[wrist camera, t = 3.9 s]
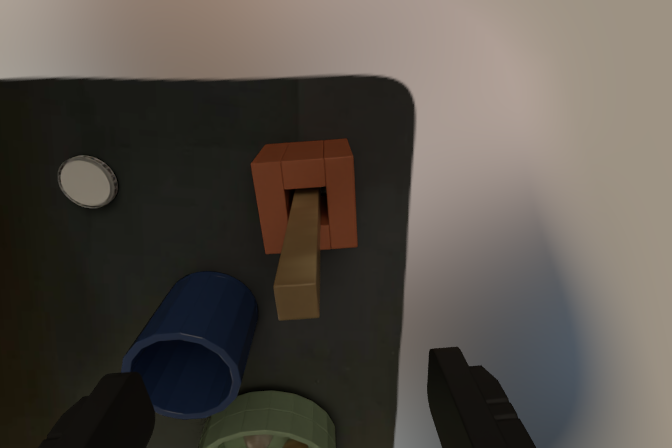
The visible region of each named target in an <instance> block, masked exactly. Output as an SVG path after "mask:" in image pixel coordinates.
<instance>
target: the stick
mask: <svg viewBox="0 0 672 448" xmlns="http://www.w3.org/2000/svg"><path fill="white" fill-rule="evenodd" d="M320 230H321V187H314V188H300V189H295V193H294V197H293V202H292V206H291V210H290V215H289V219H288V224H287V228H286V233H285V237H284V242H283V246H282V251H281V255H280V259H279V264H278V268H277V273H276V277H275V282H274V286H273V289H274V295H275V301H276V307H277V313H278V319H279V320H280V321H282V320H295V319H308V318H318V317H319V316H320Z"/></svg>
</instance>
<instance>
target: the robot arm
mask: <svg viewBox="0 0 672 448" xmlns="http://www.w3.org/2000/svg"><path fill="white" fill-rule="evenodd" d="M427 394H428V402H429V407H430V411H431V414H432V417H433V421H434V424H435V427H436V430H437V433H438V436H439V439H440V442H441V445H442V448H536V446H535V445H534V443H533V441H532V439H531V438H530V436H529V434H528V432H527V431H526V429H525V427H524V425H523V424H522V422H521V420H520V419H518V416H517V413H516V411H515V410H514V408H513V406H512V404H511V403H509V400H508V398H507V396H506V394H505V392H504V390H503V389H502V387H501V385H500V384H499V382H498V380H497V379H496V378H494V377H493V376H492V375H491V374H490V373H489V372H488V371H487V370H485V368H483V367H482V366H468V364H467V362H466V360H465V358H464V356H463V354H462V352H461V350H460V349H459V348H458V347H448V348H436V349H430V351H429V364H428V383H427ZM154 425H155V411H154V407H153V405H152V402H151V400H150V397H149V394H148V392H147V389H146V387H145V384H144V381H143V379H142V376H141V375H140V373H138V372H125V373H112V374H107V375H105V376H104V377H103V378H102V379H101V380H100V381H99V383H98V384H97V386H96V387H95V388H94V390H93V391H92V393H91V394H90V396H85V397H82V398H81V399H80V400H79V401H78V402H77V403H76V404H74V405H73V406H72V407H71V408H70V409H69V410H67V411H66V412H65V413H64V414H63V415H62V416H61V418H60V419H59V420H58V422H57V423H56V424H55V426H54V427H53V428H52V430H51V431H50V432H49V434H48V435H47V439H46V440H43V442H42V443H41V444H40V446H39V447H38V448H146V446H147V444H148V442H149V440H150V438H151V435H152V433H153V429H154Z"/></svg>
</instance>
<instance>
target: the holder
mask: <svg viewBox="0 0 672 448" xmlns="http://www.w3.org/2000/svg"><path fill="white" fill-rule="evenodd" d="M251 169H252V175H253V181H254V187H255V193H256V199H257V205H258V211H259V217H260V223H261V230H262V236H263V242H264V248H265V254H276V253H281V251H282V246H283V242H284V237H285V233H286V228H287V224H288V219H289V215H290V210H291V206H292V202H293V197H294V193H295V190H294V189H300V188H314V187H325V186H326V193H327V196H321V230H320V250H327V249H339V248H353V247H357V246H358V243H357V222H356V200H355V179H354V157H353V154H352V152H351V149H350V146H349V143H348V140H347V139H333V140H324V141H323V140H319V141H305V142H291V143H278V144H266V145H265V146H264V147H263V148H262V150H261V151H260V152H259V154H258V155H257V156H256V158H255V159H254V160H253V162H252V163H251Z"/></svg>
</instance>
